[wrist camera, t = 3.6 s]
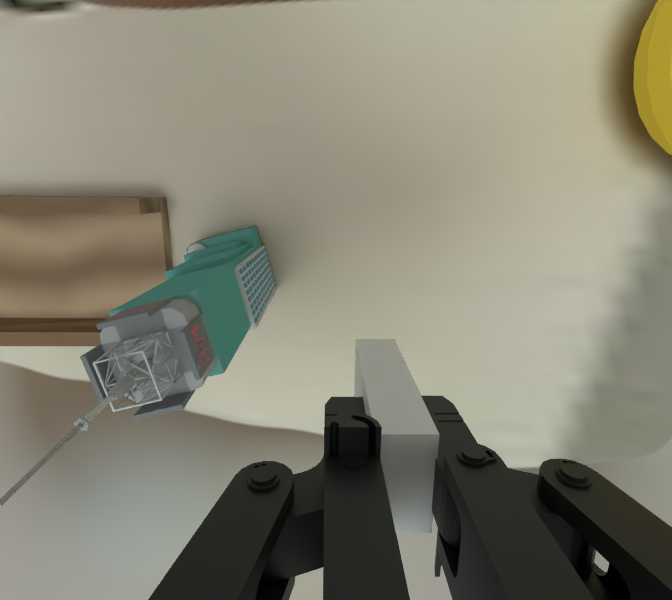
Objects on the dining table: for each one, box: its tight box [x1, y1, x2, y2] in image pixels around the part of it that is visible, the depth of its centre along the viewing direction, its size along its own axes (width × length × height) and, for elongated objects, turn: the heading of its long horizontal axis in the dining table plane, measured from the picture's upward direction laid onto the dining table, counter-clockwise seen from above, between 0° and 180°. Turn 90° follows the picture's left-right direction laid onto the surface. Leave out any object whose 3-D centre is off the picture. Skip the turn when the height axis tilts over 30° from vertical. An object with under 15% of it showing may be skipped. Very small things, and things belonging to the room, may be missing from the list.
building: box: [0, 226, 277, 506], centre depth 24 cm, size 6×6×30 cm
